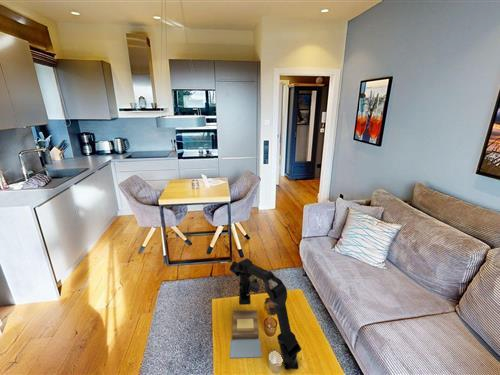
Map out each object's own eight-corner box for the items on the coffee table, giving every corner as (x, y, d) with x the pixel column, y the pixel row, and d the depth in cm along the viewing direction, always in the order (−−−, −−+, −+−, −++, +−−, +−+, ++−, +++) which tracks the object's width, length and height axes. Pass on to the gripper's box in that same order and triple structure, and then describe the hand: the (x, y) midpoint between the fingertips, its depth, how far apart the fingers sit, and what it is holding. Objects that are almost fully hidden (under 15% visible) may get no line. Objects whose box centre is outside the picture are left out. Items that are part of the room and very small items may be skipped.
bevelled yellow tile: (253, 330, 132) (253, 327, 132) (237, 331, 132) (236, 328, 132) (253, 321, 138) (253, 318, 137) (237, 321, 138) (237, 319, 137)
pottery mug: (262, 314, 148) (261, 300, 150) (268, 310, 157) (267, 296, 158) (281, 315, 143) (280, 300, 145) (286, 311, 152) (285, 296, 154)
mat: (261, 357, 122) (261, 356, 122) (229, 358, 122) (229, 357, 122) (260, 339, 132) (260, 338, 132) (230, 340, 131) (230, 339, 131)
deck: (258, 339, 132) (258, 333, 130) (232, 340, 131) (232, 334, 130) (256, 315, 147) (256, 310, 146) (233, 316, 147) (233, 310, 145)
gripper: (259, 291, 128) (259, 315, 132) (257, 269, 145) (258, 290, 150) (238, 292, 127) (239, 315, 132) (239, 269, 145) (239, 290, 150)
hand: (245, 302), depth 141 cm, fingers closed
